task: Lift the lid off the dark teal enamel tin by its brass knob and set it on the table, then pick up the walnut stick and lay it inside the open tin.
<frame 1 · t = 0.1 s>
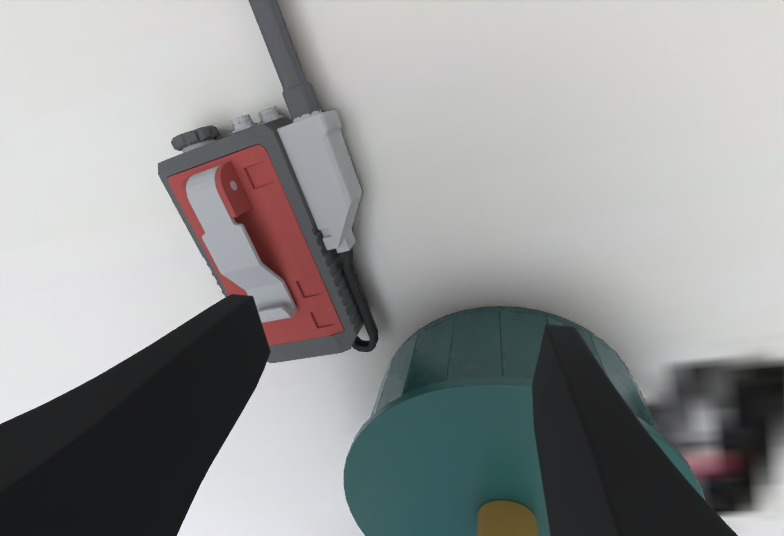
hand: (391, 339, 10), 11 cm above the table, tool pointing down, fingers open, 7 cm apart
walkie-talkie: (279, 176, 20), on the table
tin lid: (506, 508, 18), point 6 cm above the table, touching tin
tin: (502, 411, 24), on the table
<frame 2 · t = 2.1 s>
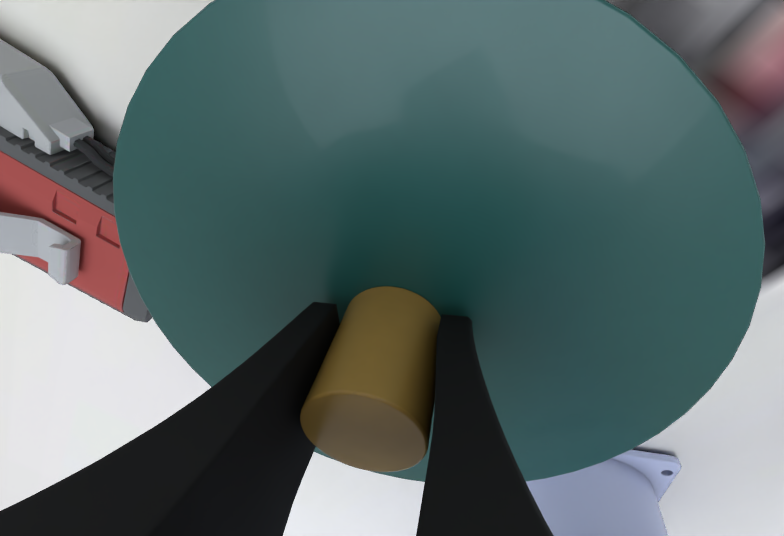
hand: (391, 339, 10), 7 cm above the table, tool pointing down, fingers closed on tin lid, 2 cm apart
walkie-talkie: (19, 129, 18), on the table
tin lid: (397, 312, 11), point 6 cm above the table, touching gripper, tin
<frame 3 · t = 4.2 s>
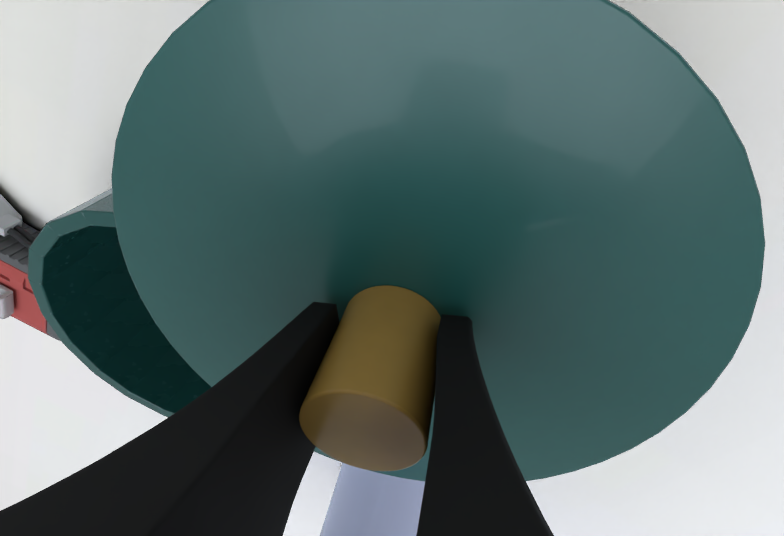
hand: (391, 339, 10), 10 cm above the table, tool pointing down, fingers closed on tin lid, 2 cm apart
tin lid: (397, 311, 11), point 9 cm above the table, touching gripper
tin: (234, 273, 24), on the table
when the fingers open (2 cm above the table, at t = 6.5 s): tin lid stays where it is, point 1 cm above the table.
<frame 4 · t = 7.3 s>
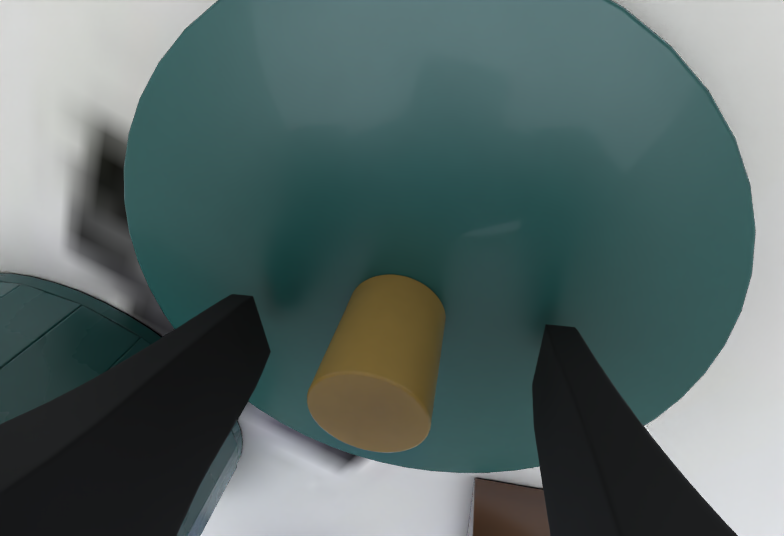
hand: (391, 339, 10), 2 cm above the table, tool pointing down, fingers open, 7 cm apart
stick: (498, 532, 19), on the table
tin lid: (400, 301, 11), point 1 cm above the table
tin: (100, 395, 19), on the table
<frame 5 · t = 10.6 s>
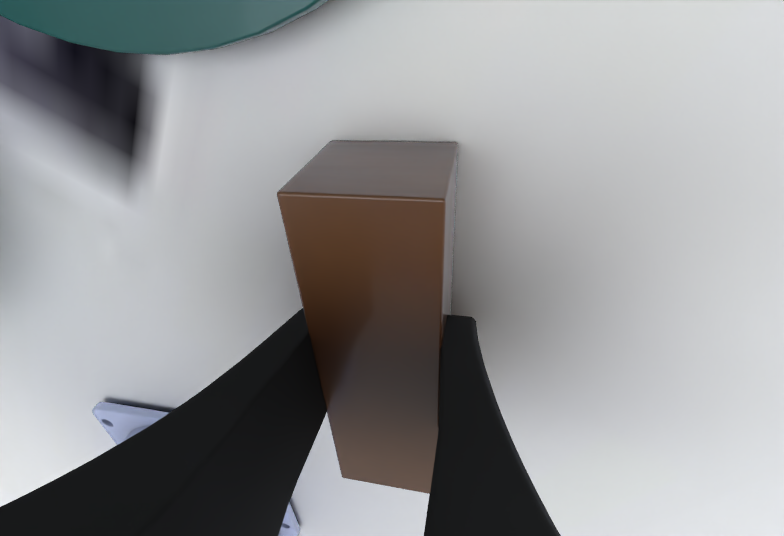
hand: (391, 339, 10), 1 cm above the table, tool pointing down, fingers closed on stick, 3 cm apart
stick: (400, 303, 11), on the table, touching gripper
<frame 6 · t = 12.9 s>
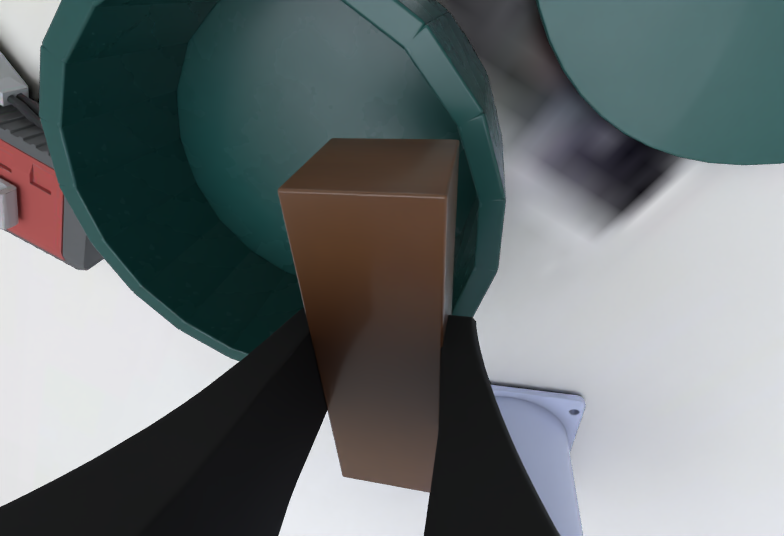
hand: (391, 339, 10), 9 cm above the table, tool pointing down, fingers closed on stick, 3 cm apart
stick: (401, 301, 11), point 8 cm above the table, touching gripper
tin: (327, 159, 17), on the table
when the fingers open (2 cm above the table, at t = 15.5 s): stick stays where it is, resting on tin.
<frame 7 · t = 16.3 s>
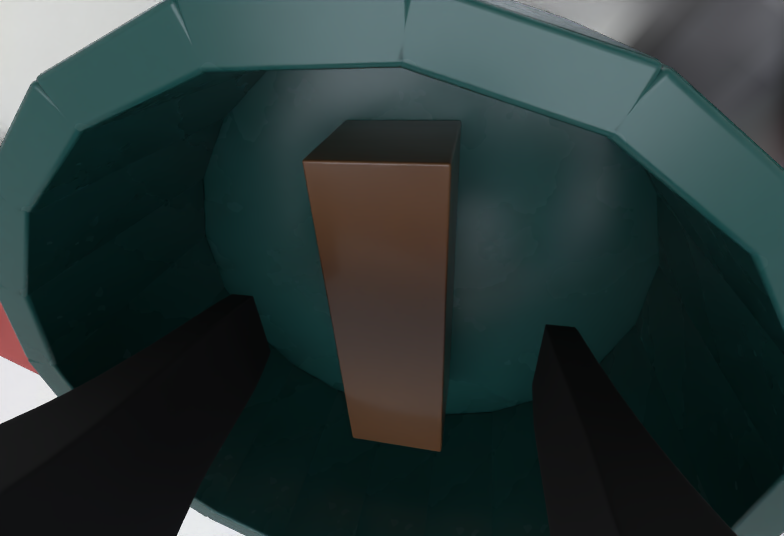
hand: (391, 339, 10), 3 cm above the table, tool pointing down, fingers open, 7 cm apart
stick: (407, 274, 12), resting on tin
tin: (411, 267, 12), on the table
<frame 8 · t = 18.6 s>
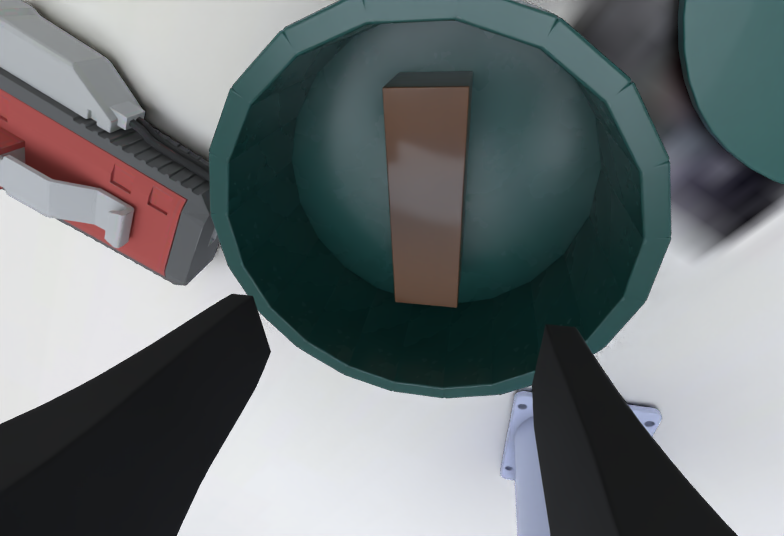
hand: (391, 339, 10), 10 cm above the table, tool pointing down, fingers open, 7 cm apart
walkie-talkie: (74, 113, 20), on the table
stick: (433, 185, 17), resting on tin
tin: (436, 182, 18), on the table
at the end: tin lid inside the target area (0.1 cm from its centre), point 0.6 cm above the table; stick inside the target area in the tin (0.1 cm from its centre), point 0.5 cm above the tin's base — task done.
